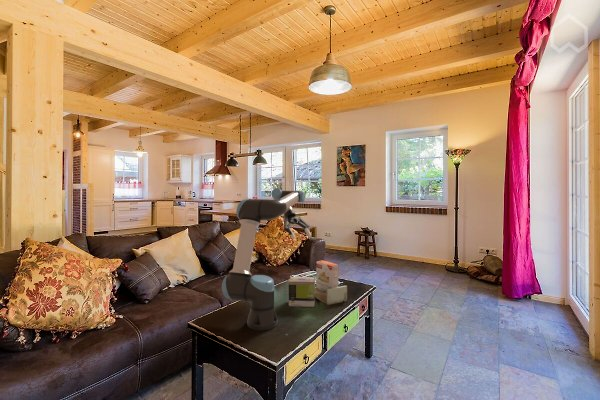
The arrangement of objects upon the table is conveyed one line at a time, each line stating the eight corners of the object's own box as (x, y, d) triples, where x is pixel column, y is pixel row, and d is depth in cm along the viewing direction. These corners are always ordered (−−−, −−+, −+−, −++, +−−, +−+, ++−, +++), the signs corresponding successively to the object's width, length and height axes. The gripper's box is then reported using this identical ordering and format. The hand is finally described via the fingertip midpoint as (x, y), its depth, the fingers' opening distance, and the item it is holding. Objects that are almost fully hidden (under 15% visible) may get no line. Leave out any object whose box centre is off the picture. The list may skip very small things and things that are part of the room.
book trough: (327, 305, 171) (327, 289, 171) (312, 295, 186) (312, 281, 186) (346, 300, 178) (347, 286, 178) (330, 292, 193) (330, 278, 193)
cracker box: (315, 294, 186) (315, 261, 185) (322, 291, 190) (322, 259, 189) (331, 300, 175) (332, 265, 174) (338, 298, 179) (338, 264, 178)
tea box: (315, 301, 178) (315, 276, 177) (314, 307, 168) (314, 282, 167) (290, 299, 179) (290, 275, 178) (288, 306, 169) (288, 281, 168)
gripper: (300, 215, 214) (313, 238, 203) (271, 217, 199) (284, 242, 188) (304, 208, 210) (319, 232, 199) (275, 210, 194) (289, 235, 183)
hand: (302, 237), depth 193 cm, fingers open, 13 cm apart
